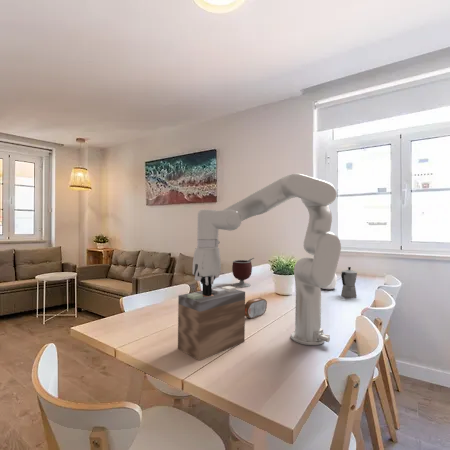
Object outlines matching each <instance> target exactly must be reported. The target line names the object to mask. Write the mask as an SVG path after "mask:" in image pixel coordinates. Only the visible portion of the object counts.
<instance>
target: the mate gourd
mask: <svg viewBox="0 0 450 450" xmlns="http://www.w3.org/2000/svg"><path fill="white" fill-rule="evenodd" d="M254 259H255V257H252V258H250V259H248V260H246V259H237V260H233V261H232V265H231V266H232V268H231V271H232V275H233V276H234V278H235V279H236V280H239V282H235V283H233V284H232V287H236V288H250V287H251V284H250V283H249V282H245V280H247V279H249V278H250V277H252V276H251V275H252V274H253V273H252V271H253V266H252V264H253V263H252V261H253V260H254Z"/></svg>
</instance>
